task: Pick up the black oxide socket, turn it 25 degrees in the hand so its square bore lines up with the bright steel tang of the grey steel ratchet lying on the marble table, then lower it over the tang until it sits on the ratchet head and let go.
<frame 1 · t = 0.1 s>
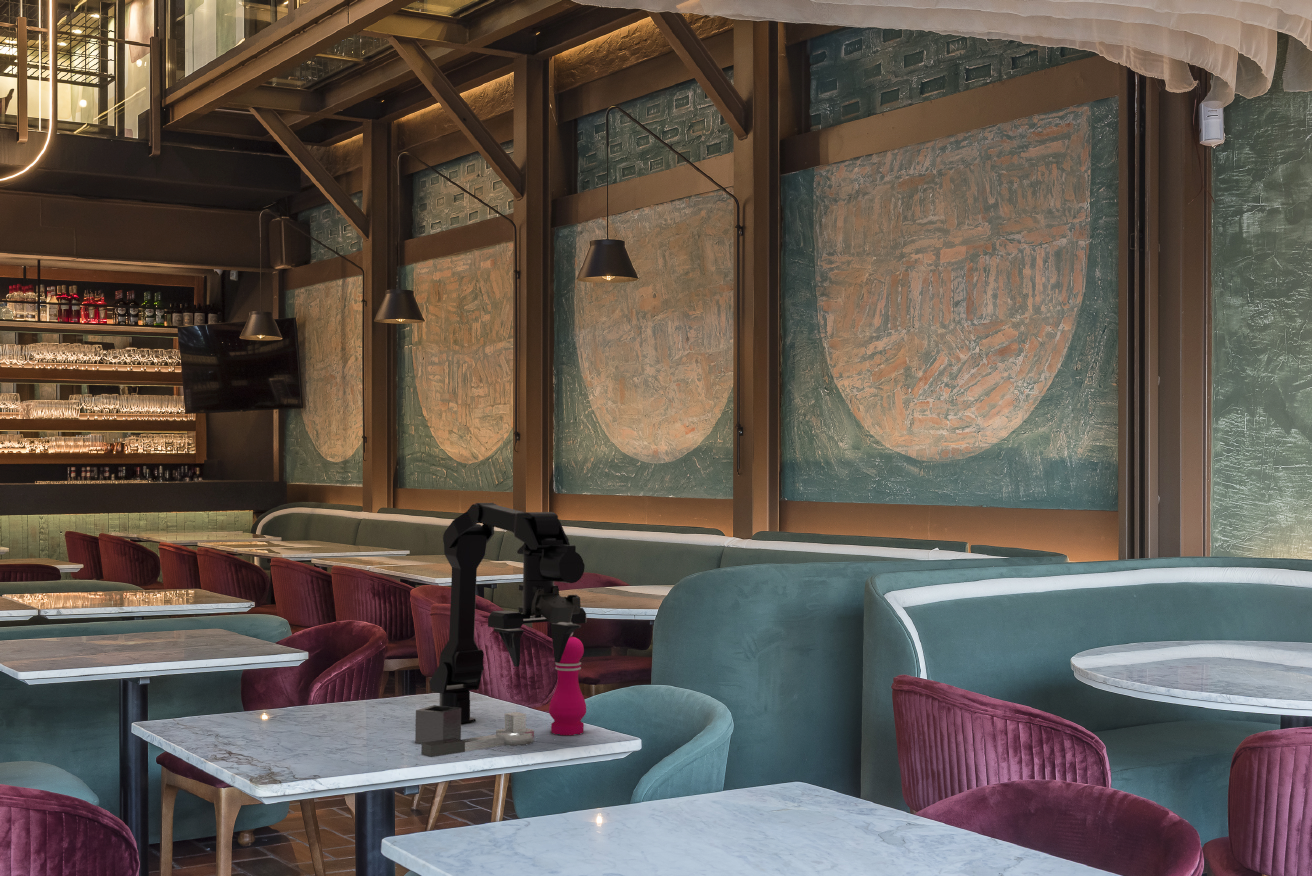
hand: (537, 664, 235), 15 cm above the table, fingers open, 9 cm apart
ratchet: (515, 742, 237), on the table
socket: (438, 741, 236), on the table
pepper mill: (567, 733, 246), on the table
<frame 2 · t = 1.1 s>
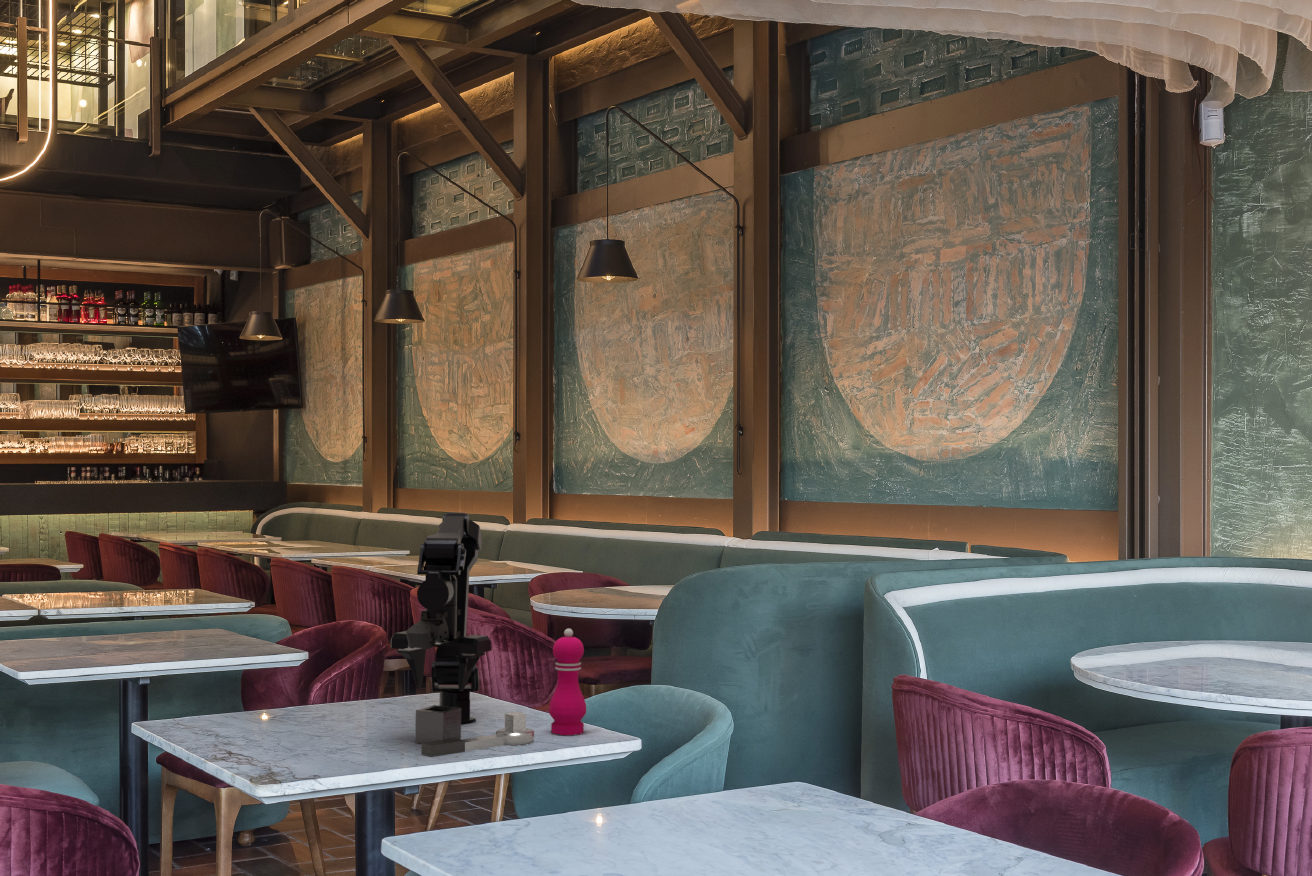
hand: (440, 689, 236), 10 cm above the table, fingers open, 9 cm apart
nothing on the table moved.
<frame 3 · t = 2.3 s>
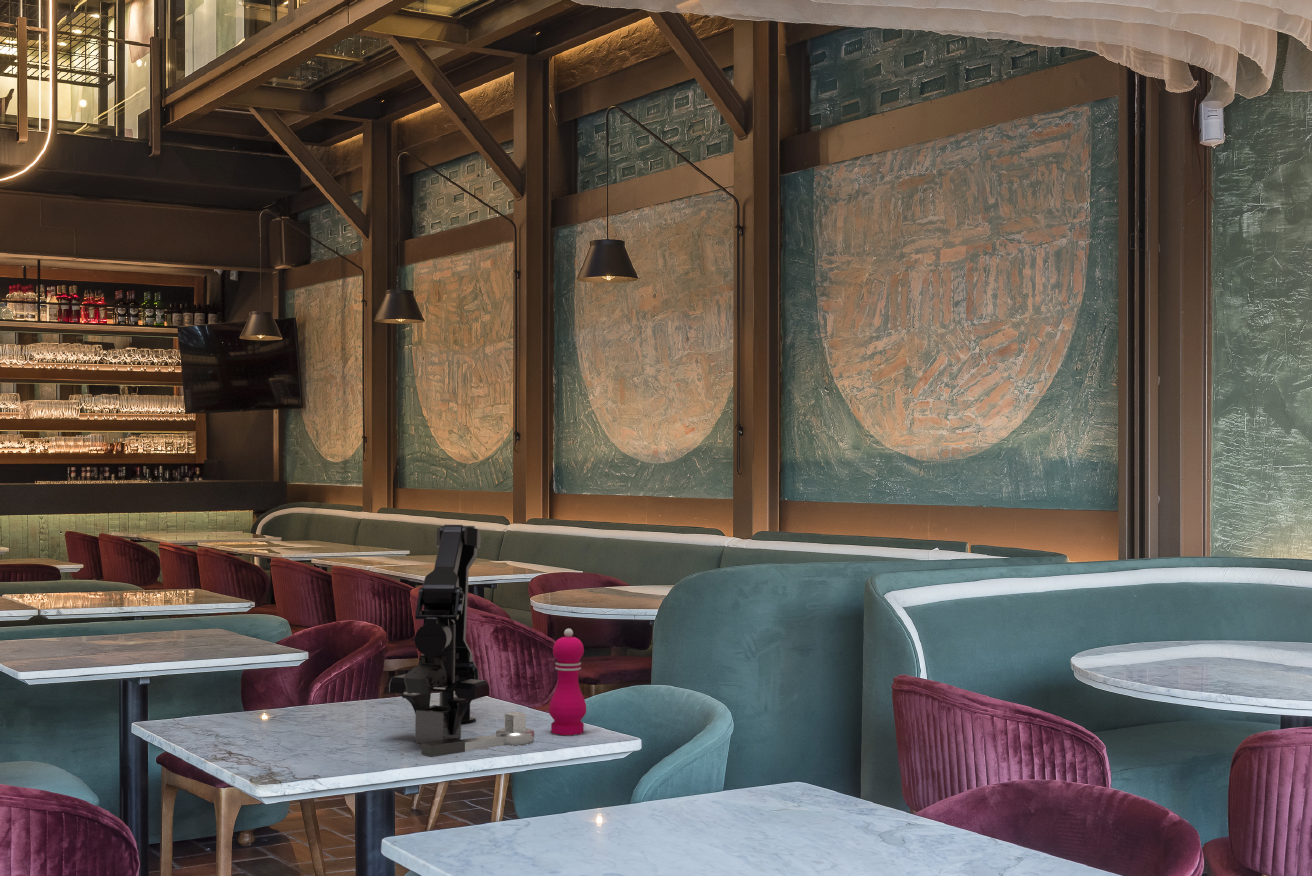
hand: (438, 733, 236), 2 cm above the table, fingers closed on socket, 6 cm apart
socket: (438, 741, 236), on the table, touching gripper
everything else where it was.
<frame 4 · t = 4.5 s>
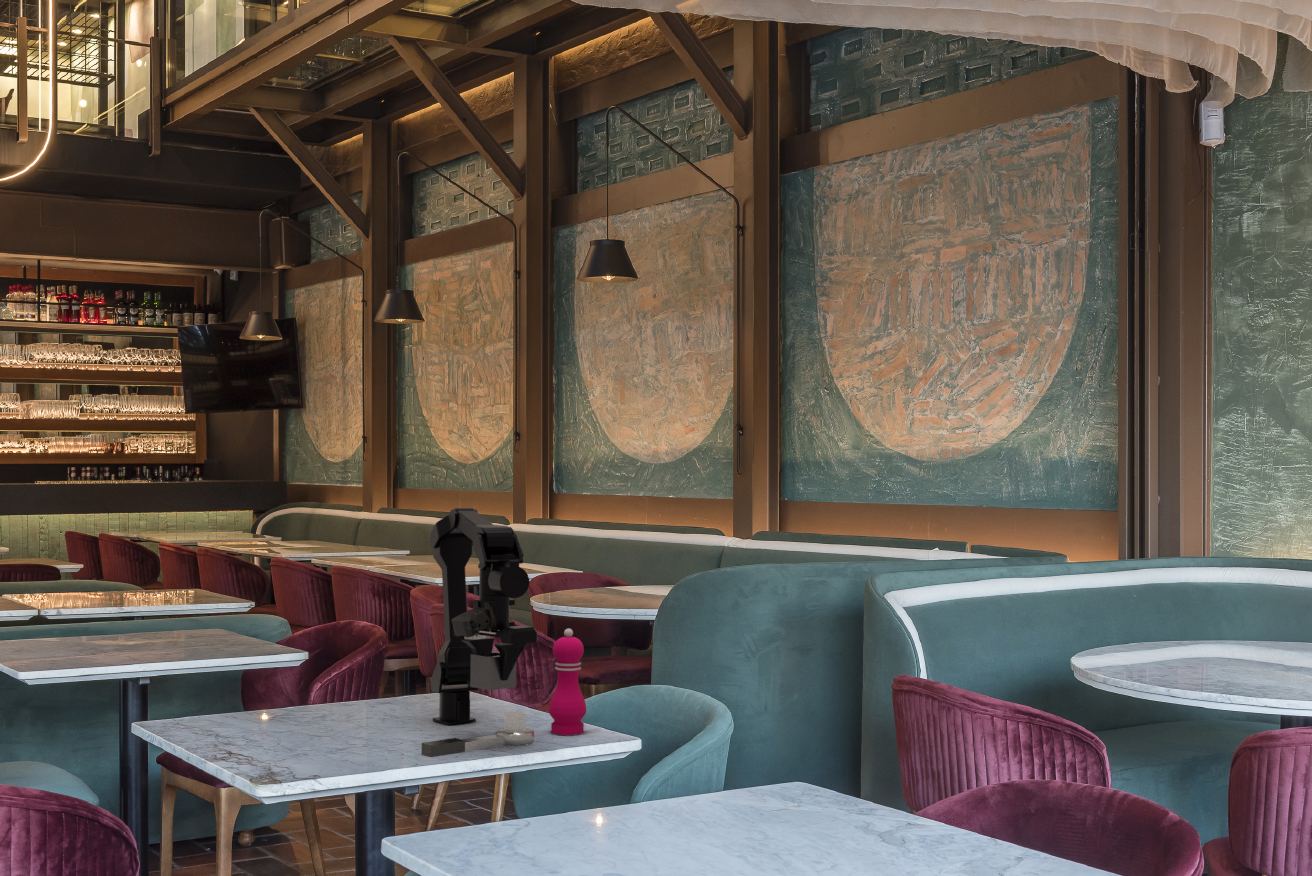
hand: (493, 678, 237), 12 cm above the table, fingers closed on socket, 6 cm apart
socket: (493, 686, 236), point 10 cm above the table, touching gripper
everything else where it was.
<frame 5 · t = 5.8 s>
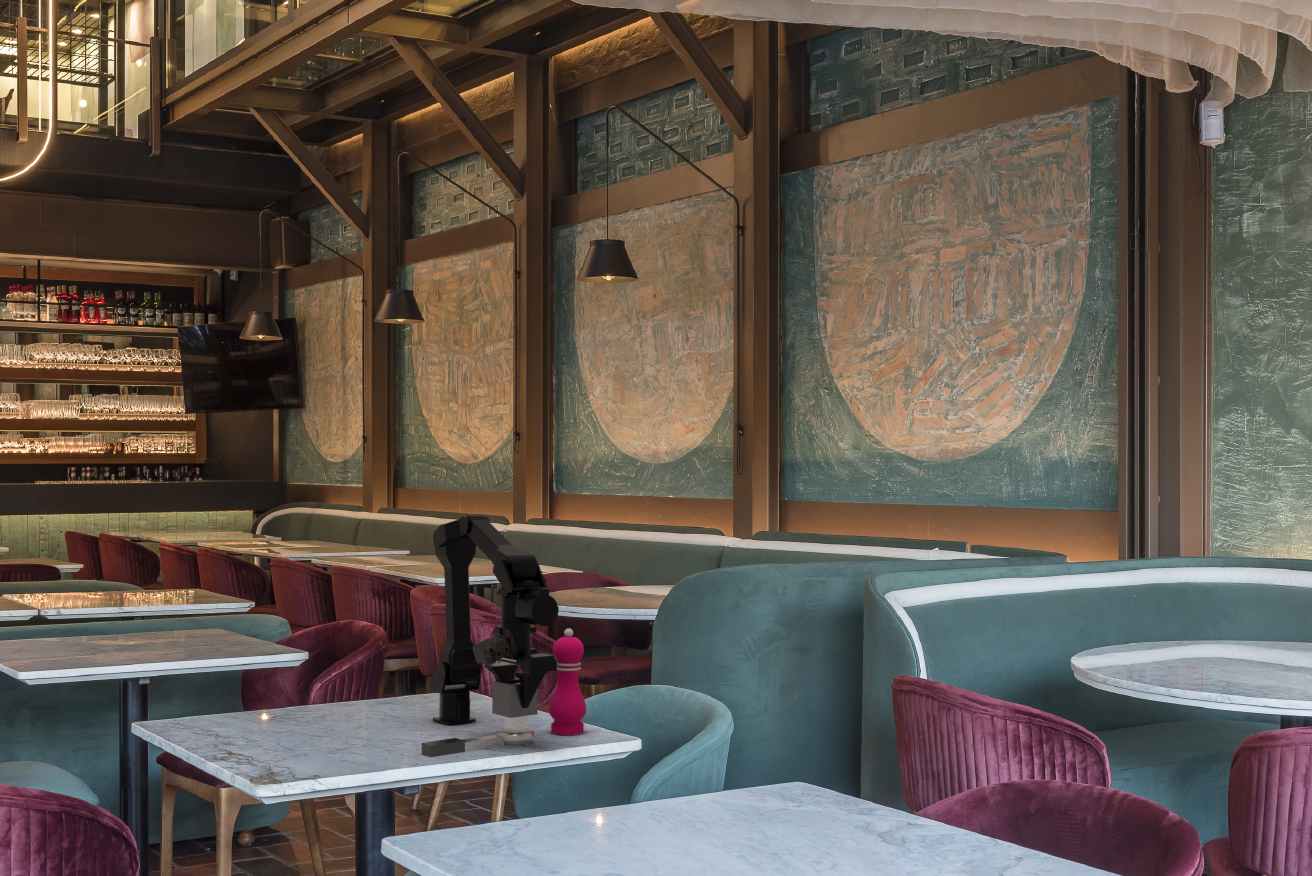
hand: (515, 705, 237), 7 cm above the table, fingers closed on socket, 6 cm apart
socket: (514, 713, 237), point 5 cm above the table, touching gripper
everything else where it was.
when the fingers open (4 cm above the table, at t = 6.7 s): socket stays where it is, resting on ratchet.
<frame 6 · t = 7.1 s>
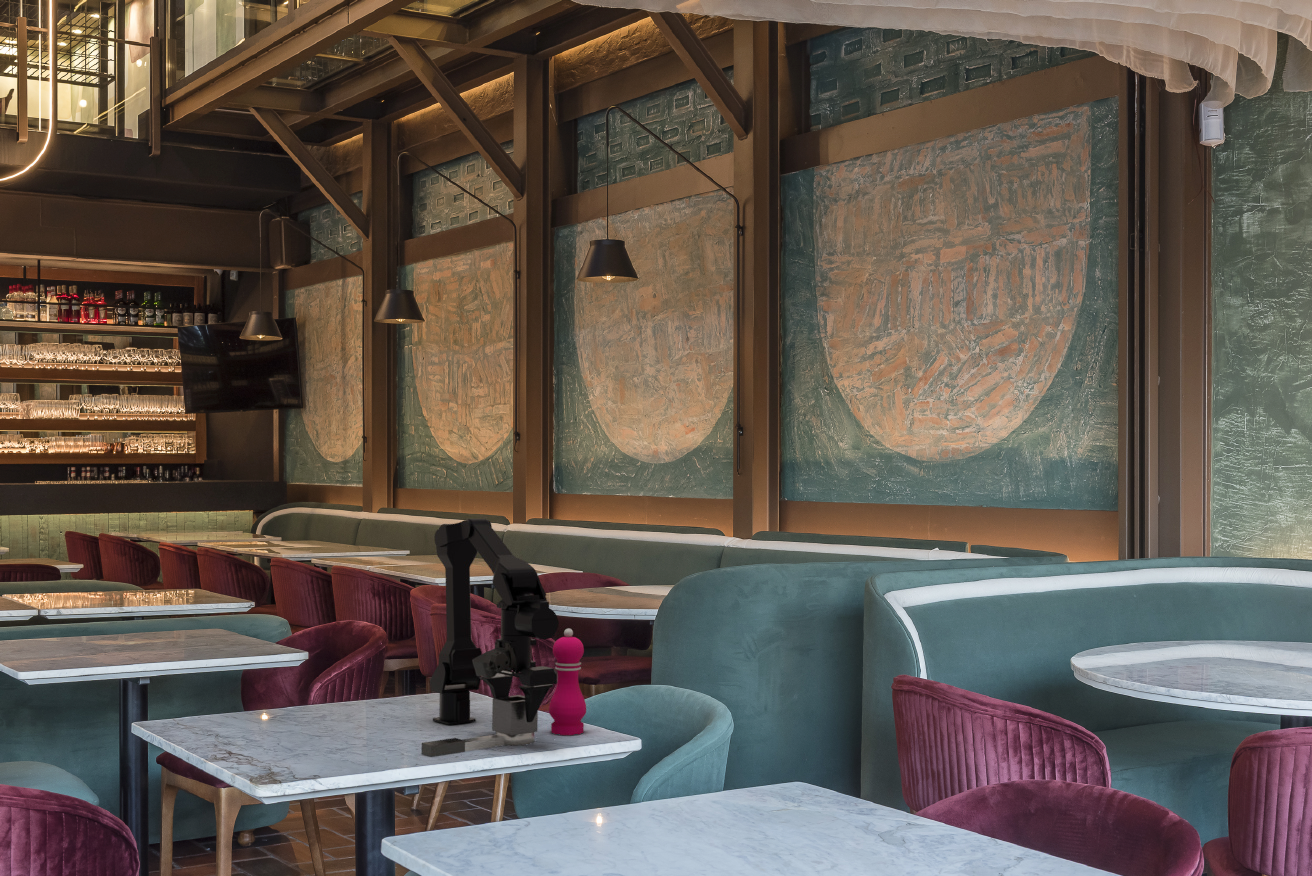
hand: (515, 718, 237), 4 cm above the table, fingers open, 9 cm apart
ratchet: (515, 741, 237), on the table, touching socket
socket: (514, 731, 237), point 2 cm above the table, touching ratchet
everything else where it was.
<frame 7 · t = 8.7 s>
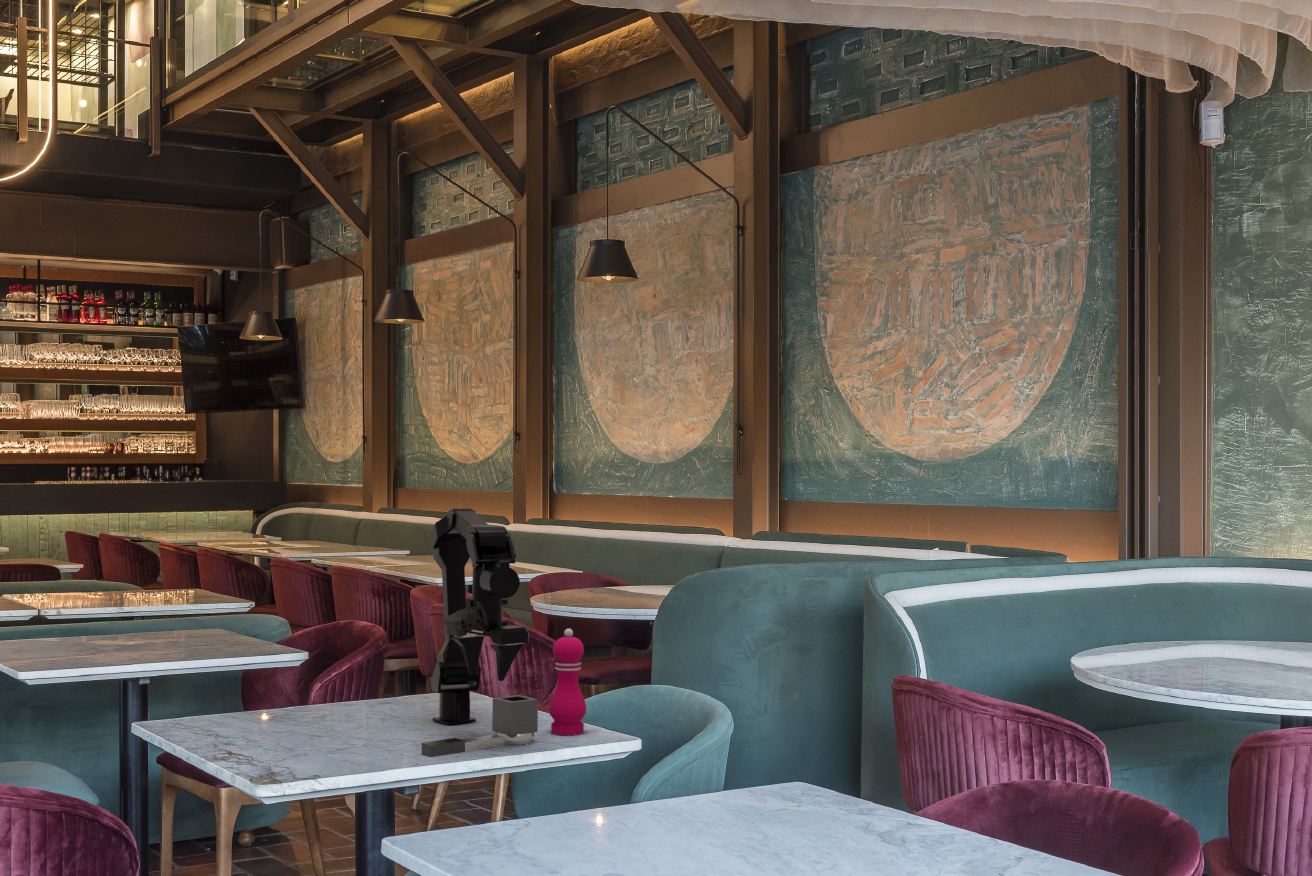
hand: (486, 677, 237), 12 cm above the table, fingers open, 9 cm apart
nothing on the table moved.
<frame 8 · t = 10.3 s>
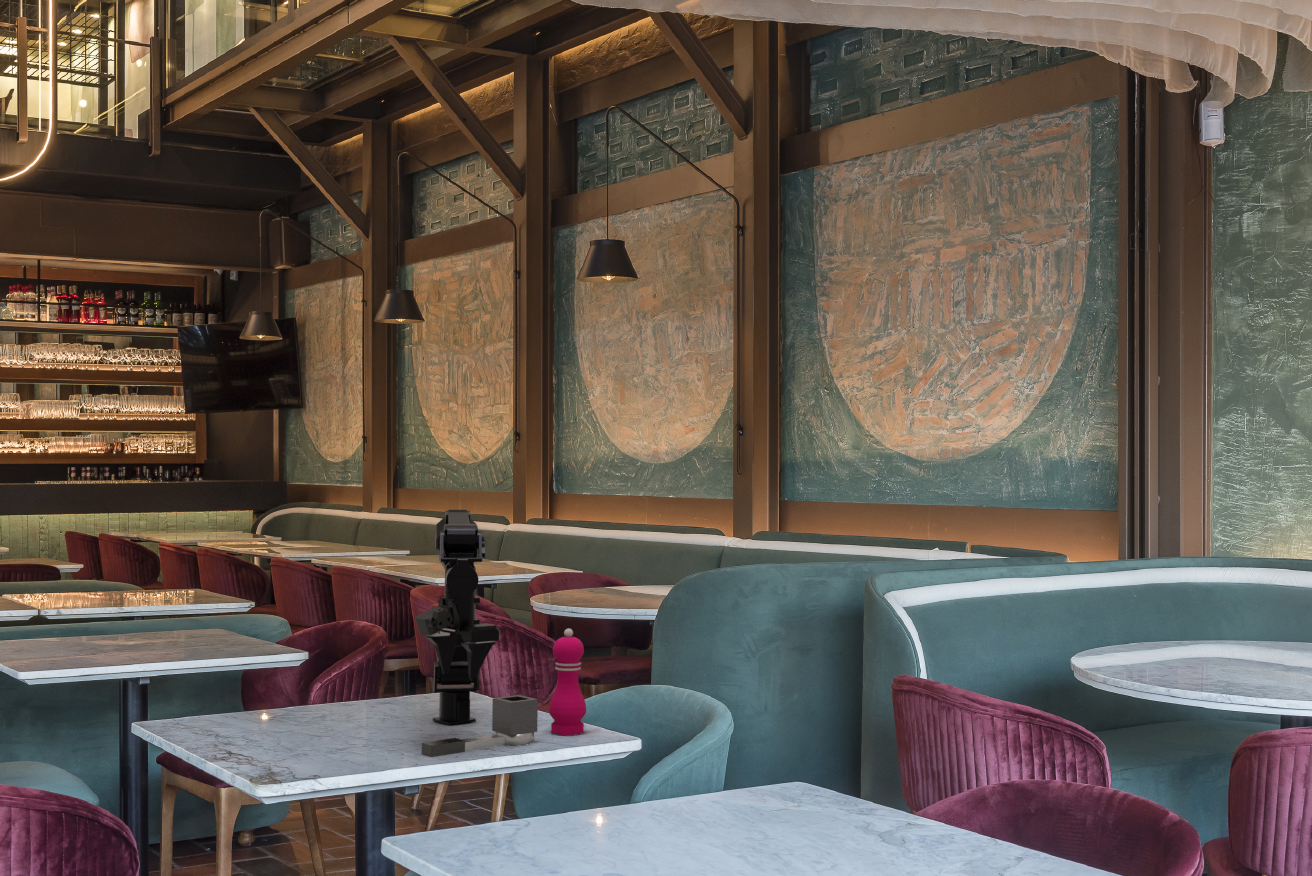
hand: (458, 676, 237), 12 cm above the table, fingers open, 9 cm apart
nothing on the table moved.
at the end: socket 0.1 cm off-centre on the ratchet, point 2.0 cm above the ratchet's base; the gripper is holding nothing; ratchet moved 0.1 cm from its start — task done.
